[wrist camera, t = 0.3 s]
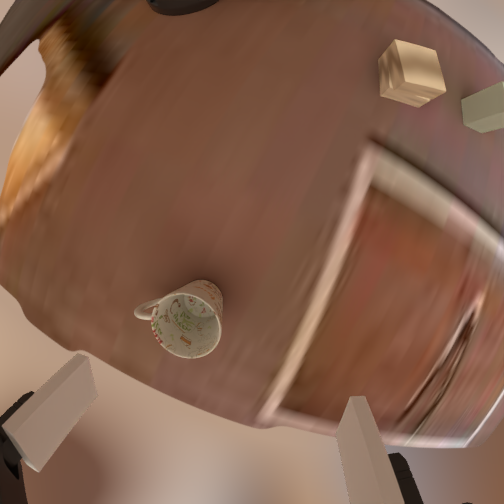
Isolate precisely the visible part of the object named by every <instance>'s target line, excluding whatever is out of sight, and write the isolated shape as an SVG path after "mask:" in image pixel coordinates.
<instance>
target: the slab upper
mask: <svg viewBox="0 0 504 504" xmlns="http://www.w3.org/2000/svg"><path fill="white" fill-rule="evenodd" d="M385 54H386V58H387V63H388V67H389V72H390V77H391V82H392V87H393V91H394V92H400V93H405V94H410V95H415V96H420V97H424V98H429V99H434V98H436V97H438V96H439V95H441V94H443V93H445V92H446V88H445V84H444V80H443V76H442V72H441V68H440V64H439V61H438V58H437V54H436V51H435V50H432V49H429V48H425V47H422V46H419V45H415V44H411V43H408V42H404V41H400V40H396V39H395V40H394V41H393V42H392V43H391V45H390V46H389V47H388V48H387V49H386V51H385Z"/></svg>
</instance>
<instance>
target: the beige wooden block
mask: <svg viewBox="0 0 504 504" xmlns="http://www.w3.org/2000/svg"><path fill="white" fill-rule="evenodd" d="M378 65H379V83H380V96H382V97H385V98H389V99H392V100H396V101H399V102H402V103H406V104H409V105H412V106H415V107H418V108H419V107H420V106H422V105H424V104H426V103H427V102H429V101H430V99H429V98H424V97H420V96H415V95H410V94H405V93H400V92H394V91H393V87H392V82H391V77H390V72H389V67H388V63H387V58H386V54H385V52H384V53H383V54H382V56H381V57H380V58H379V59H378Z"/></svg>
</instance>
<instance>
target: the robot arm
mask: <svg viewBox="0 0 504 504" xmlns="http://www.w3.org/2000/svg"><path fill="white" fill-rule="evenodd" d="M146 1H147V2H148V4H149V5H150V7H151V8H152V9H153V10H154V11H155V12H157V13H160V14H164V15H183V14H188V13H193V12H196V11H199V10H202V9H204V8H206V7H209V6H210V5H212V4H214V3H216V2H217V1H219V0H146ZM97 396H98V394H97V390H96V387H95V383H94V379H93V375H92V370H91V366H90V362H89V357H87V356H84V355H81V354H76V355H75V356H74V357H73V358H72V359H71V360H70V361H68V363H66V364H65V365H64V366H63V367H62V368H61V369H60V370H59V371H58V372H57V373H56V374H54V376H52V377H51V378H50V379H49V380H48V381H47V382H46V383H45V384H44V385H43V386H42V387H41V388H40V389H39V390H37V391H36V392H35V393H34V392H32V391H31V392H29V393H26V394H24V395H23V396H22V397H21V398H20V399H18V401H17V402H15V403H14V404H13V406H11V407H10V408H9V409H8V410H7V411H6V412H5V413H4V414H3V415H2V416H1V417H0V504H28V503H27V498H26V493H25V487H24V480H23V473H22V465H21V462H20V460H21V458H23V460H24V461H25V462H26V464H27V465H28V466H30V467H31V468H32V469H34V470H36V471H37V472H40V471H41V469H42V468H43V466H44V465H45V464H46V462H47V461H48V460H49V458H50V457H51V456H52V454H53V453H54V452H55V450H56V449H57V448H58V446H59V445H60V444H61V442H62V441H63V440H64V439H65V437H66V436H67V435H68V433H69V432H70V431H71V429H72V428H73V427H74V426H75V424H76V423H77V422H78V420H79V419H80V418H81V417H82V415H83V414H84V413H85V411H86V410H87V409H88V408H89V406H90V405H91V404H92V403H93V401H94V400H95V399H96V398H97ZM336 438H337V442H338V447H339V452H340V456H341V461H342V466H343V471H344V476H345V480H346V485H347V491H348V496H349V501H350V504H423V501H422V499H421V496H420V494H419V491H418V488H417V486H416V483H415V480H414V478H413V477H412V473H411V471H410V468H409V465H408V463H407V461H406V459H405V458H404V457H403V456H402V455H401V454H400V453H393V454H387V452H386V449H385V446H384V443H383V441H382V438H381V436H380V433H379V430H378V428H377V425H376V423H375V420H374V418H373V415H372V412H371V410H370V407H369V405H368V403H367V400H366V398H365V396H350V398H349V401H348V404H347V406H346V409H345V412H344V414H343V417H342V419H341V421H340V424H339V426H338V429H337V431H336ZM463 504H472V503H463Z"/></svg>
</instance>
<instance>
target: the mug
mask: <svg viewBox="0 0 504 504" xmlns="http://www.w3.org/2000/svg"><path fill="white" fill-rule="evenodd" d="M155 305H156V306H155ZM152 306H155V308H154V310H153V313H144V312H143V311H144V310H145V309H147V308H149V307H152ZM222 312H223V298H222V294H221V292H220V290H219V289H218V287H217V286H216V285H214V284H213V283H211V282H209V281H206V280H196V281H193V282H191V283H189V284H187V285H185V286H183V287H181V288H179V289H177V290H175V291H173V292H172V293H170V294H168V295H166V296H165V297H163V298H159V299H155V300H152V301H149V302H146V303H143V304H141V305H139V306H138V307H137V308H136V309H135V311H134V314H135V316H136V317H138V318H140V319H145V320H151V324H152V329H153V332H154V335H155V337H156V338H157V340H158V341H159V343H160V344H161V345H162V346H163V347H164V348H165V349H166V350H168V351H169V352H171V353H172V354H174V355H177V356H179V357H183V358H199V357H203V356H205V355H207V354H209V353H210V352H211V351H212V350H213V349H214V348H215V347H216V346H217V344H218V342H219V340H220V337H221V332H222Z"/></svg>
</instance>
